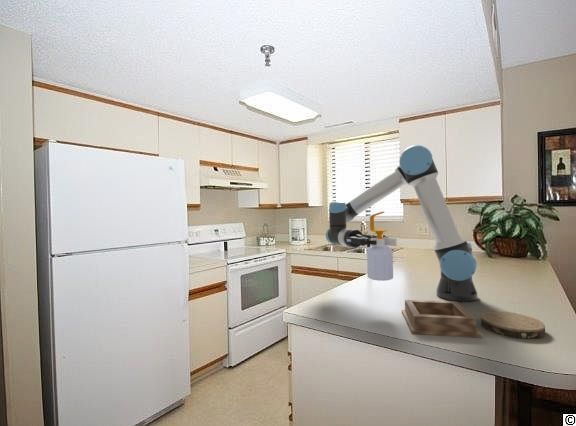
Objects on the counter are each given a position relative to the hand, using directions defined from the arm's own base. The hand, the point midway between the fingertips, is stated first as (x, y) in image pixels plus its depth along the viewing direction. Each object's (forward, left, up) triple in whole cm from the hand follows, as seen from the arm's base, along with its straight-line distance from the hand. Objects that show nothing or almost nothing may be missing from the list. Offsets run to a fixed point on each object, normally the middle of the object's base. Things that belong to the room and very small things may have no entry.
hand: (389, 242), depth 106 cm
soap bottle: (+3, -4, -14) cm, 15 cm away
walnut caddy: (-14, +5, -26) cm, 30 cm away
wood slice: (-35, +6, -26) cm, 44 cm away
